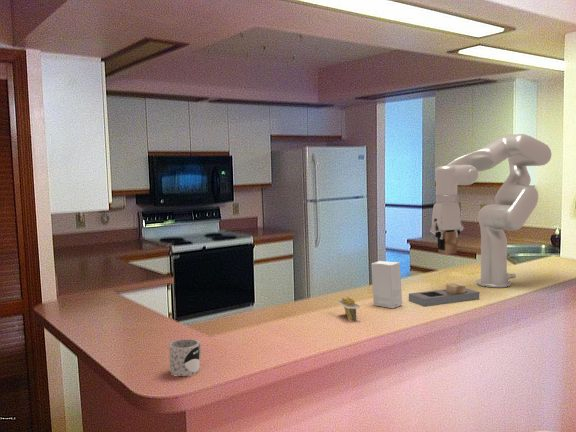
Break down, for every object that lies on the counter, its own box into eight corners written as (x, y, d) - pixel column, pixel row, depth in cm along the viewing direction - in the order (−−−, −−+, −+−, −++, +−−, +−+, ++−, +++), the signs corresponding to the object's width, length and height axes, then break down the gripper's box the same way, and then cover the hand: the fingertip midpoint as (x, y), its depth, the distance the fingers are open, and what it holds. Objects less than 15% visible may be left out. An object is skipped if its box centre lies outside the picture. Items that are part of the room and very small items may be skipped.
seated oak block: (456, 296, 190) (456, 282, 189) (465, 299, 185) (465, 285, 185) (446, 298, 188) (446, 284, 187) (454, 300, 184) (454, 286, 183)
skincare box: (402, 305, 178) (402, 262, 176) (391, 309, 173) (391, 264, 172) (381, 302, 184) (381, 259, 183) (371, 305, 180) (370, 261, 178)
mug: (189, 378, 117) (188, 349, 117) (164, 375, 120) (163, 346, 119) (212, 363, 127) (211, 336, 126) (188, 360, 129) (187, 333, 129)
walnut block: (448, 251, 198) (448, 230, 197) (456, 253, 194) (456, 231, 193) (438, 252, 196) (437, 231, 196) (446, 254, 192) (445, 232, 191)
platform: (341, 329, 154) (341, 307, 153) (320, 314, 171) (319, 294, 171) (378, 324, 157) (378, 303, 157) (354, 310, 175) (353, 291, 174)
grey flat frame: (462, 293, 193) (462, 287, 193) (479, 299, 185) (479, 292, 185) (408, 300, 185) (408, 293, 185) (424, 306, 176) (424, 298, 176)
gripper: (458, 198, 200) (459, 245, 201) (421, 200, 194) (421, 249, 195) (472, 198, 193) (472, 248, 195) (433, 201, 187) (434, 252, 188)
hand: (447, 248), depth 195 cm, fingers closed on walnut block, 4 cm apart
